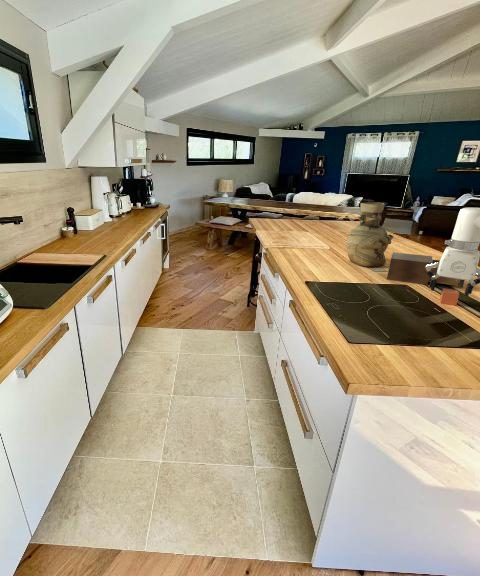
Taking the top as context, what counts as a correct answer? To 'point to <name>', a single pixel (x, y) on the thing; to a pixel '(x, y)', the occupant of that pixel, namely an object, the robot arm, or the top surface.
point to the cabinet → (409, 268)
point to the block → (449, 296)
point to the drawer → (448, 280)
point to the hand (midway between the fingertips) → (448, 292)
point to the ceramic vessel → (368, 238)
